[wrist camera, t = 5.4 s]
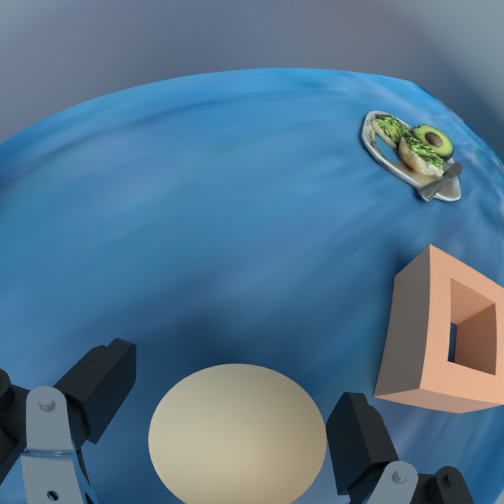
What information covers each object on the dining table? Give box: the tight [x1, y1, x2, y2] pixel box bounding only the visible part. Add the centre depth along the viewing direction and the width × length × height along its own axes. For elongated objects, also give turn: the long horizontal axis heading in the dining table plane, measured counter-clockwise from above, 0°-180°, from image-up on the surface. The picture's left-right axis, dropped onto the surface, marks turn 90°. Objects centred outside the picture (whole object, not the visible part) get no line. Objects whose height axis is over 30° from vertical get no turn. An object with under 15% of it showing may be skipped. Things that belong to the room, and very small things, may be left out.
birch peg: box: [148, 364, 327, 504], centre depth 9 cm, size 3×3×12 cm
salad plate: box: [361, 111, 462, 202], centre depth 29 cm, size 19×18×5 cm
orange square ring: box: [373, 244, 504, 413], centre depth 15 cm, size 10×10×5 cm
